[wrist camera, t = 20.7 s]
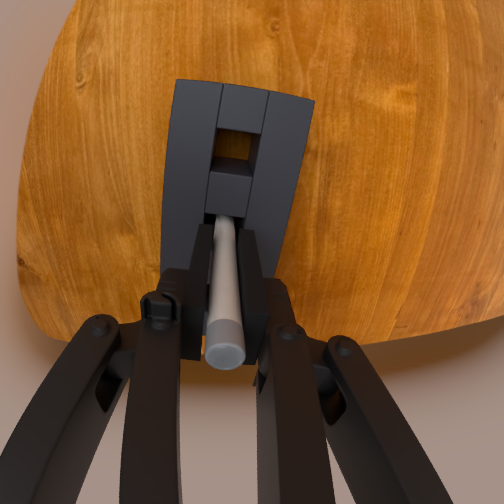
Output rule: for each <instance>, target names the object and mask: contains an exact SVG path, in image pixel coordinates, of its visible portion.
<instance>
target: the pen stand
mask: <svg viewBox="0 0 504 504" xmlns="http://www.w3.org/2000/svg"><path fill="white" fill-rule="evenodd" d="M314 104H315V101H314V100H310V99H306V98H302V97H298V96H294V95H289V94H285V93H280V92H275V91H269V90H264V89H259V88H253V87H247V86H241V85H234V84H226V83H225V84H223V83H218V82H209V81H198V80H185V79H177V80H176V84H175V90H174V96H173V103H172V110H171V117H170V125H169V133H168V141H167V151H166V161H165V172H164V185H163V200H162V219H161V255H160V277H161V274H162V273H163V272H164V271H165V270H166V269H167V268H168V267H169V268H177V269H185V270H189V266H190V262H191V257H192V253H193V248H194V244H195V239H196V235H197V231H198V227H199V223H200V224H208V225H214V227H213V235H212V244H211V252H210V261H209V271H208V280H207V291H206V301H205V312H204V323H203V334H202V335H204V336H206V329H207V315H208V300H209V287H210V274H211V262H212V251H213V240H214V230H215V220H212V219H206V214H207V213H210V214H218V215H226V216H234V217H238V220H237V223H236V222H234V229H235V242H236V249H237V243H238V237H239V231H240V228H241V229H249V230H254V232H255V237H256V242H257V248H258V253H259V258H260V264H261V269H262V274H263V277H264V278H274V275H275V271H276V267H277V263H278V259H279V255H280V251H281V247H282V243H283V239H284V235H285V231H286V227H287V223H288V219H289V215H290V211H291V207H292V202H293V198H294V194H295V190H296V186H297V181H298V177H299V173H300V168H301V164H302V159H303V155H304V151H305V146H306V142H307V137H308V132H309V128H310V123H311V119H312V114H313V109H314ZM218 128H220V129H228V130H235V131H242V132H248V133H253V134H252V140H251V145H250V151H249V156H248V161H247V160H240V159H233V158H226V157H218V156H215V157H214V154H215V148H216V141H217V135H218Z"/></svg>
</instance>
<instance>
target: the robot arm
mask: <svg viewBox="0 0 504 504" xmlns="http://www.w3.org/2000/svg"><path fill="white" fill-rule="evenodd" d="M213 227H214V225H208V224H200V223H199V227H198V231H197V235H196V239H195V244H194V248H193V253H192V257H191V262H190V266H189V270H185V269H177V268H169V267H168V268H167V269H166V270H165V271H164V272H163V273H162V274H161V277H160V280H159V282H158V285H157V289H156V291H152V292H148V293H147V294H145V295H144V296H143V297H142V299H141V300H140V307H141V317H142V319H141V320H140V321H137V322H134V323H127V324H118V321H117V320H116V319H115V318H114V317H112V316H110V315H105V314H99V315H94V316H92V317H90V318H88V319H87V320H86V321H85V322H84V323H83V325H82V326H81V327H80V329H79V330H78V331H77V333H76V334H75V336H74V337H73V338H72V340H71V341H70V342H69V344H68V345H67V347H66V348H65V350H64V351H63V352H62V354H61V355H60V357H59V358H58V360H57V361H56V362H55V364H54V365H53V367H52V368H51V370H50V371H49V373H48V375H47V376H46V378H45V379H44V381H43V382H42V384H41V385H40V387H39V388H38V390H37V391H36V393H35V395H34V396H33V398H32V400H31V401H30V403H29V405H28V406H27V408H26V410H25V412H24V413H23V415H22V416H21V419H20V420H19V422H18V423H17V425H16V427H15V429H14V431H13V433H12V434H11V436H10V438H9V440H8V442H7V444H6V446H5V448H4V450H3V452H2V454H1V456H0V504H75V503H76V500H77V498H78V495H79V493H80V490H81V487H82V485H83V482H84V479H85V477H86V474H87V472H88V469H89V467H90V464H91V462H92V460H93V457H94V455H95V452H96V450H97V447H98V445H99V443H100V440H101V438H102V436H103V433H104V431H105V429H106V427H107V424H108V422H109V420H110V417H111V415H112V413H113V411H114V409H115V406H116V404H117V402H118V400H119V398H120V396H121V394H122V392H123V389H124V387H125V385H126V383H127V381H128V378H131V379H130V386H129V392H128V399H127V406H126V415H125V423H124V432H123V443H122V454H121V469H120V491H119V504H183V503H182V488H181V469H180V430H179V429H180V427H179V426H180V425H179V402H180V400H179V399H180V359H186V360H195V361H200V357H201V346H202V334H203V323H204V312H205V301H206V291H207V280H208V271H209V261H210V252H211V244H212V235H213ZM236 255H237V267H238V280H239V292H240V303H241V315H242V326H243V331H244V341H245V352H246V358H245V360H244V362H243V363H242V364H244V365H255V364H256V360H257V357H258V366H259V367H258V370H257V373H256V376H255V379H254V382H253V386H256V400H257V401H256V403H257V471H258V472H257V476H258V477H257V480H258V504H336V503H335V496H334V488H333V481H332V474H331V467H330V461H329V455H328V448H327V442H326V438H327V441H328V443H329V445H330V447H331V449H332V452H333V454H334V456H335V458H336V461H337V463H338V465H339V467H340V470H341V472H342V474H343V476H344V478H345V481H346V483H347V485H348V487H349V489H350V492H351V494H352V496H353V498H354V501H355V503H356V504H453V502H452V500H451V498H450V496H449V494H448V492H447V491H446V489H445V487H444V485H443V483H442V482H441V480H440V478H439V476H438V474H437V472H436V471H435V469H434V467H433V465H432V463H431V462H430V460H429V458H428V456H427V455H426V453H425V451H424V450H423V448H422V446H421V444H420V443H419V441H418V439H417V437H416V436H415V434H414V433H413V431H412V429H411V427H410V426H409V424H408V422H407V421H406V419H405V417H404V416H403V414H402V412H401V411H400V409H399V408H398V406H397V404H396V403H395V401H394V399H393V398H392V397H391V395H390V393H389V391H388V390H387V388H386V387H385V385H384V383H383V382H382V380H381V379H380V377H379V376H378V374H377V373H376V371H375V369H374V368H373V366H372V365H371V363H370V361H369V360H368V359H367V357H366V355H365V354H364V352H363V351H362V349H361V348H360V346H359V345H358V344H357V343H356V342H355V341H354V340H353V339H351V338H349V337H346V336H342V335H337V336H334V337H331V338H330V339H329V341H328V343H327V342H323V341H319V340H316V339H313V338H310V337H308V336H307V334H306V332H305V330H304V329H303V328H302V327H301V326H300V325H298V324H296V320H295V316H294V313H293V309H292V306H291V302H290V299H289V295H288V292H287V288H286V286H285V285H284V284H283V282H282V281H281V280H280V279H274V278H264V277H263V274H262V269H261V264H260V258H259V253H258V248H257V242H256V237H255V232H254V230H249V229H241V228H240V231H239V237H238V243H237V249H236Z"/></svg>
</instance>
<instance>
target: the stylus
mask: <svg viewBox="0 0 504 504" xmlns="http://www.w3.org/2000/svg"><path fill="white" fill-rule="evenodd" d="M245 358H246V352H245V341H244V331H243V326H242V315H241V303H240V292H239V280H238V267H237V255H236V242H235V229H234V216H226V215H218V214H216V220H215V230H214V240H213V251H212V262H211V274H210V287H209V300H208V315H207V329H206V337H205V359H206V361H207V363H208V364H209V365H210V366H212V367H214V368H216V369H221V370H230V369H234V368H237V367H238V366H240V365H241V364H242V363H243V362H244V360H245Z"/></svg>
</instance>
